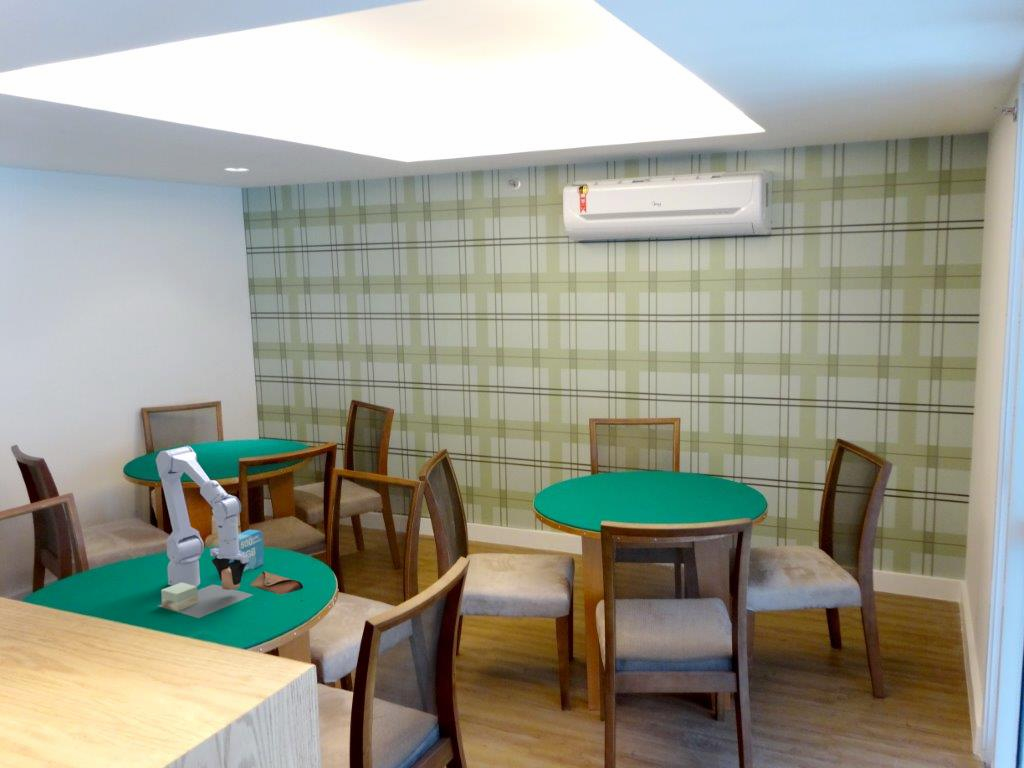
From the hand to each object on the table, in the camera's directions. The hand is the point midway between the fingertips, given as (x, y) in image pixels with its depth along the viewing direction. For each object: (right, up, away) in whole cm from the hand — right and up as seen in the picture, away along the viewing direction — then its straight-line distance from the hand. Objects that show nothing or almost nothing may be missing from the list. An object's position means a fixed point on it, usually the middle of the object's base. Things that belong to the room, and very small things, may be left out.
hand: (230, 582), depth 254 cm
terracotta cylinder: (0, -1, 0) cm, 1 cm away
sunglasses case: (+10, -5, +9) cm, 14 cm away
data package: (-4, -2, +27) cm, 28 cm away
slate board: (-6, -6, -2) cm, 9 cm away
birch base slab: (-13, -5, -6) cm, 15 cm away
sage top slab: (-13, -3, -6) cm, 14 cm away
